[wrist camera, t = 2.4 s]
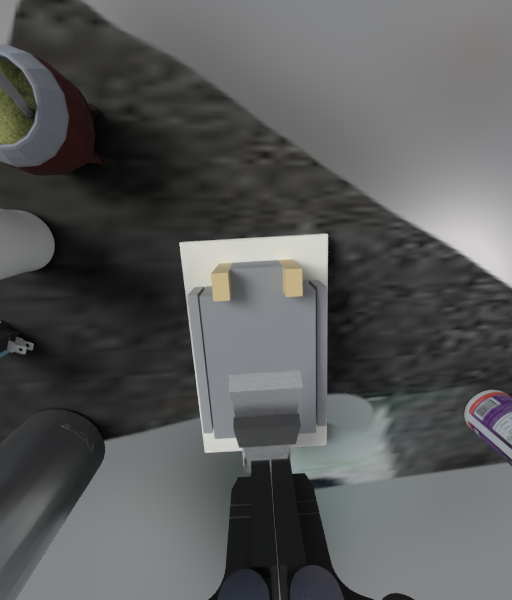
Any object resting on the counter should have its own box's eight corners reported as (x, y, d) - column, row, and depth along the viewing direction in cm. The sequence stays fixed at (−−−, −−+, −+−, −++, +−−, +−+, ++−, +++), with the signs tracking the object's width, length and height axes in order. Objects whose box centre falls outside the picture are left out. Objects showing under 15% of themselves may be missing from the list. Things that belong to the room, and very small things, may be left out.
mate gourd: (16, 144, 24) (-332, 22, 10) (67, 61, 23) (-252, -225, 8) (92, 205, 26) (-114, 178, 11) (144, 130, 24) (-14, -13, 10)
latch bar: (288, 455, 27) (290, 476, 25) (244, 458, 27) (245, 479, 25) (307, 364, 13) (314, 400, 12) (220, 369, 13) (219, 406, 12)
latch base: (323, 435, 32) (343, 493, 25) (206, 442, 32) (194, 503, 25) (323, 233, 27) (349, 236, 20) (183, 241, 26) (159, 247, 20)
